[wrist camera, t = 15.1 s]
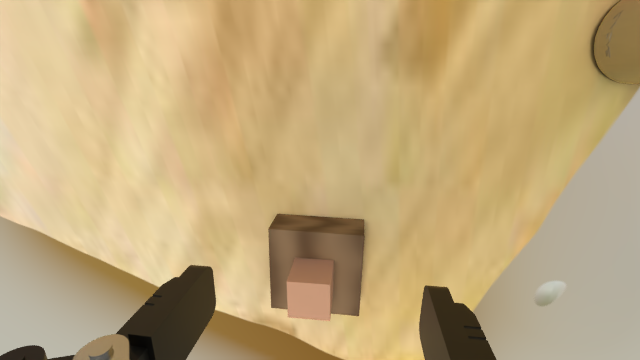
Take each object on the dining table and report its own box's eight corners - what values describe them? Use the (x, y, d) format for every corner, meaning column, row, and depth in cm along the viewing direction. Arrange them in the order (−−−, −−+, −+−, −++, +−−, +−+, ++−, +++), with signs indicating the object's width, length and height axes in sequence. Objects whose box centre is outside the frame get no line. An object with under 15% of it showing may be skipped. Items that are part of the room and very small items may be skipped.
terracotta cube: (333, 260, 41) (330, 284, 36) (333, 293, 42) (329, 320, 37) (294, 257, 41) (286, 281, 36) (295, 290, 43) (287, 317, 38)
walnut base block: (363, 218, 44) (364, 235, 39) (358, 292, 47) (358, 316, 43) (278, 212, 45) (268, 229, 40) (279, 285, 49) (271, 307, 44)
